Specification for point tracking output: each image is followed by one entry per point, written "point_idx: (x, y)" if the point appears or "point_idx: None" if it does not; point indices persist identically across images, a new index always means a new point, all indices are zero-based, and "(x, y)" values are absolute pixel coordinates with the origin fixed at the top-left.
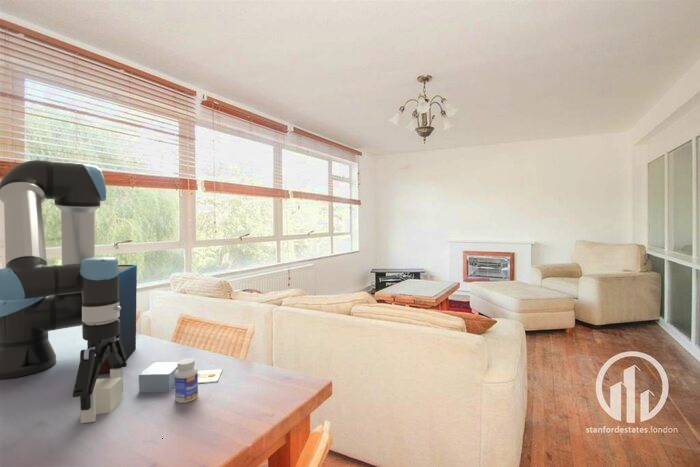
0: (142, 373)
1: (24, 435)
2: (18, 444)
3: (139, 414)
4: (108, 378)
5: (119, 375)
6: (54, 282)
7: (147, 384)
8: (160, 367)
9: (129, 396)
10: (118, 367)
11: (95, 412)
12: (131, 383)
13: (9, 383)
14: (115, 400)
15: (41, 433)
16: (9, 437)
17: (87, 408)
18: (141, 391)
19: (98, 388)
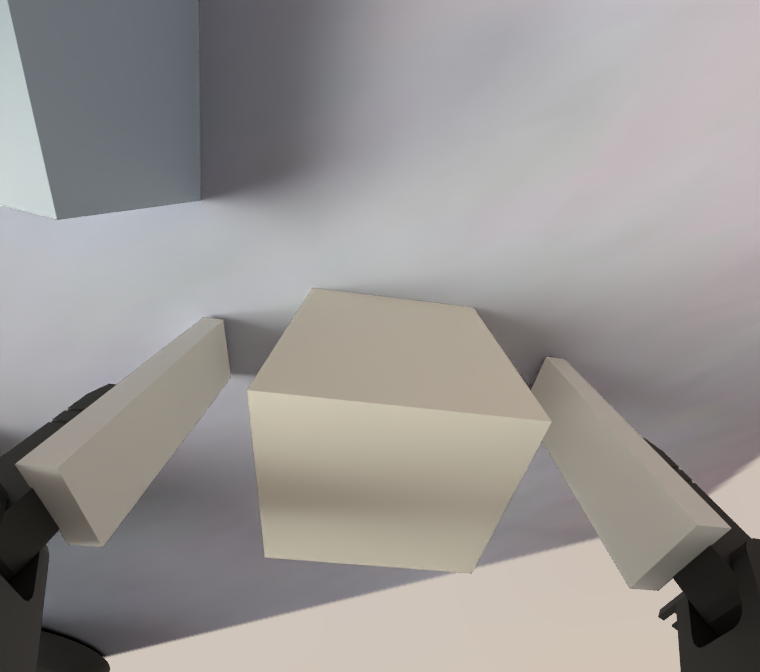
0: (2, 170)
1: (518, 531)
2: (577, 525)
3: (621, 70)
4: (267, 493)
5: (130, 421)
6: None
7: (149, 101)
8: None
9: (268, 256)
10: (27, 508)
11: (572, 384)
12: (61, 301)
13: (133, 645)
14: (416, 319)
15: (535, 499)
16: (508, 554)
17: (660, 450)
18: (196, 179)
19: (490, 504)
